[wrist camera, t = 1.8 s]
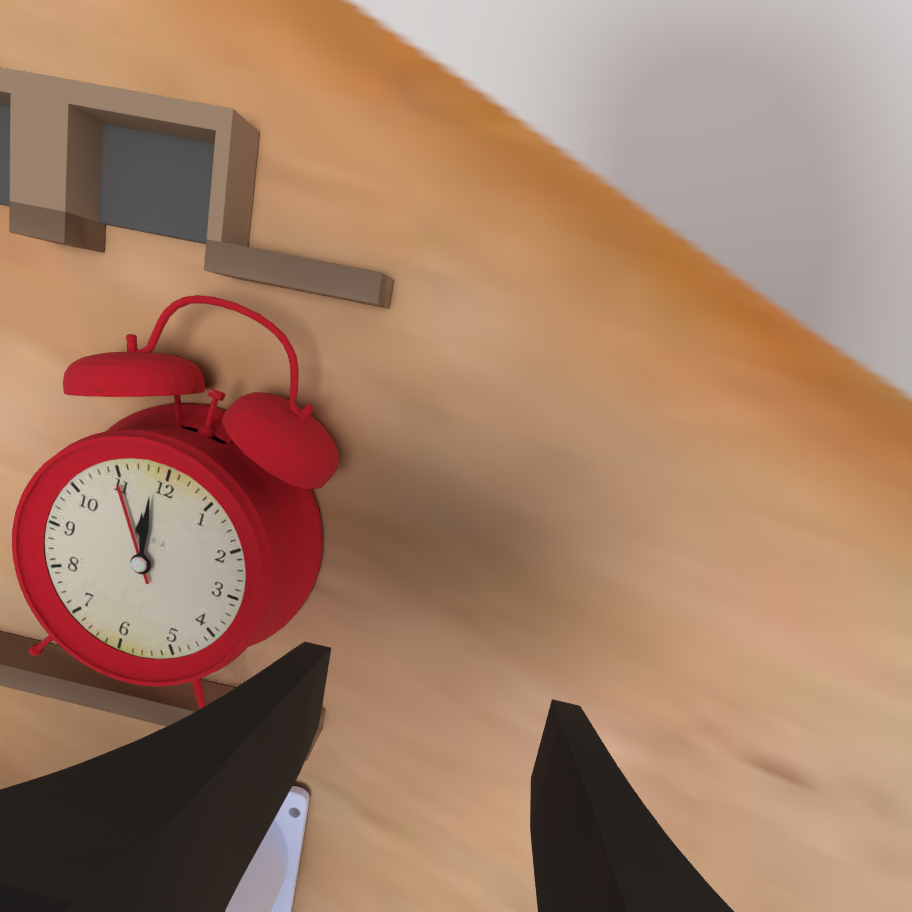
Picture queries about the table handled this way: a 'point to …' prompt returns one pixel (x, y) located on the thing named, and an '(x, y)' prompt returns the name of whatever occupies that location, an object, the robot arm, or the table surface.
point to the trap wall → (55, 668)
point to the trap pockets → (127, 157)
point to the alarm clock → (173, 520)
